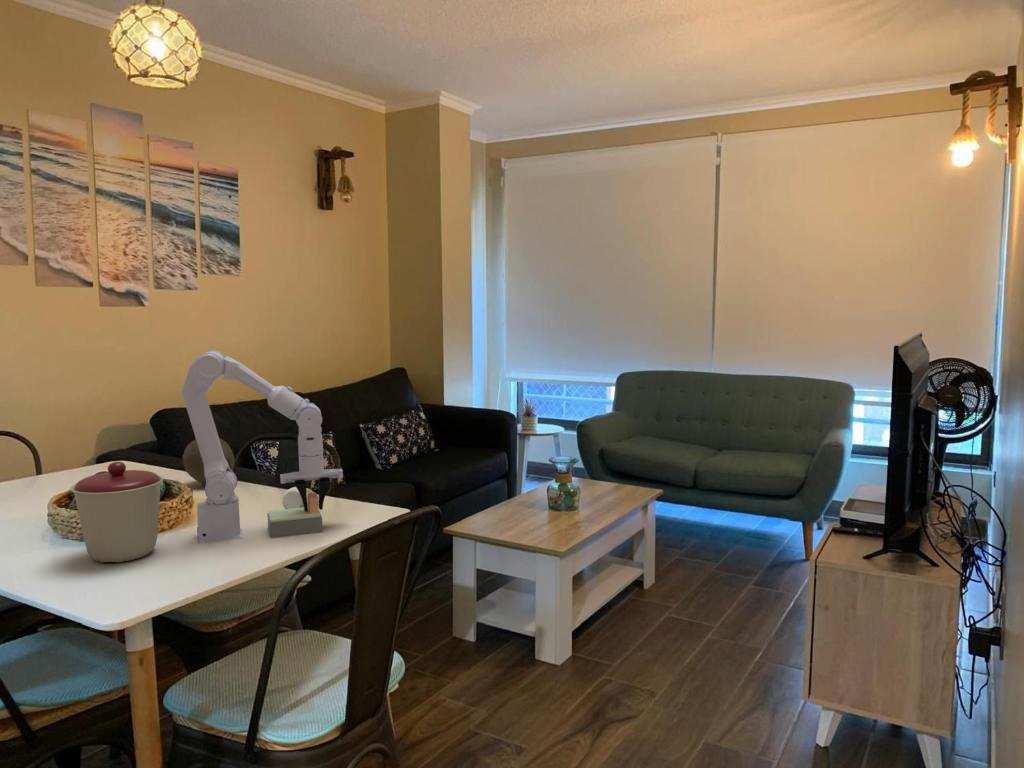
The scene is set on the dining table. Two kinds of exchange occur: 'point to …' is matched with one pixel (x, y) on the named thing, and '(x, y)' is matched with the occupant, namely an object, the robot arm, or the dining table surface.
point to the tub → (294, 527)
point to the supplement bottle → (294, 498)
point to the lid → (297, 511)
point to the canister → (119, 513)
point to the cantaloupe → (195, 463)
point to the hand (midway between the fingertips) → (313, 509)
